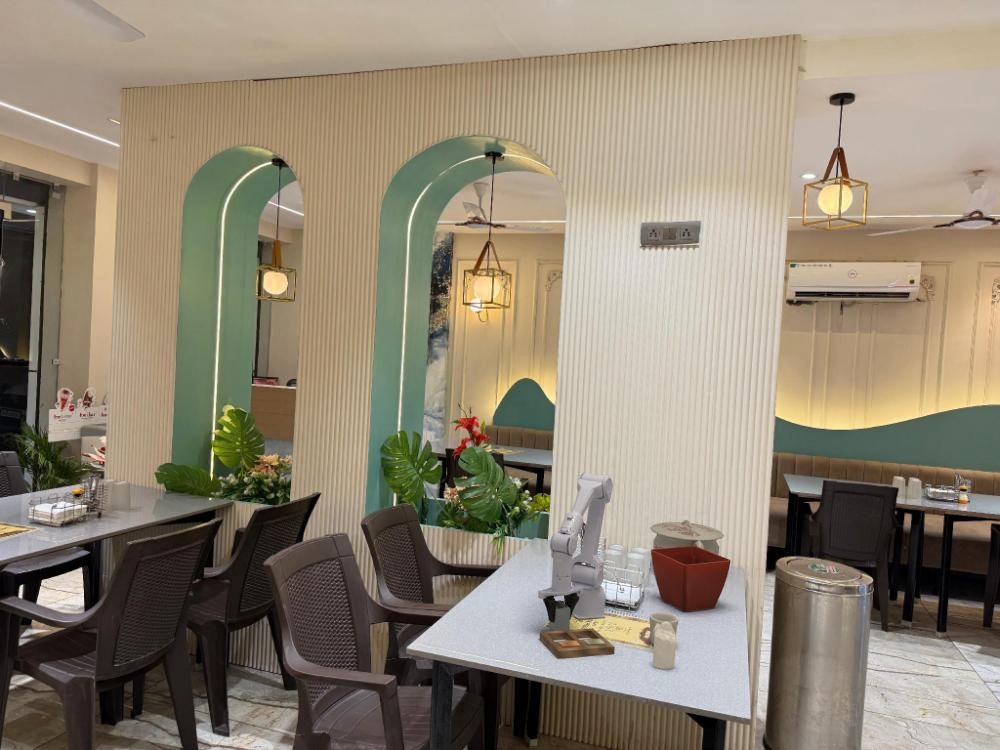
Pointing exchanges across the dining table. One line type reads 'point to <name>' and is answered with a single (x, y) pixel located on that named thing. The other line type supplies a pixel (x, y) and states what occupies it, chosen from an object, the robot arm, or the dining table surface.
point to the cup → (660, 618)
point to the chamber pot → (686, 536)
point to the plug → (561, 617)
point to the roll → (664, 647)
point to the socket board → (576, 643)
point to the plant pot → (689, 576)
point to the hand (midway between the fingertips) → (559, 620)
